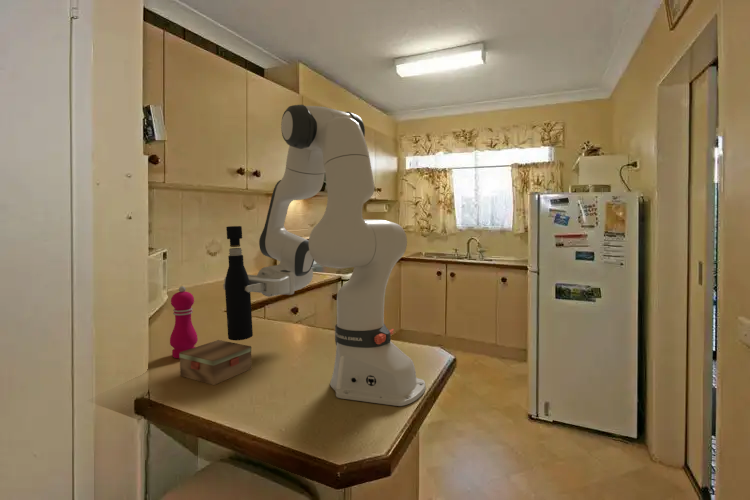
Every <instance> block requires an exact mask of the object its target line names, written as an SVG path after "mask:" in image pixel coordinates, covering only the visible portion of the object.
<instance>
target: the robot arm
mask: <svg viewBox="0 0 750 500" xmlns="http://www.w3.org/2000/svg"><path fill="white" fill-rule="evenodd" d="M280 125H281V127H280V128H281V136H282V138H283V140H284V141H285V143H286V144H287V145H288V146H289V147H288V151H287V156H286V162H285V169H284V170H285V171H284V174H283V176H282V178H281V179H279V180H278V181H277V182H276V184H275V186H274V188H273V189H272V190H273V191H272V195H271V197H270V203H269V207H268V211H267V215H266V219H265V223H264V227H263V230H262V231H261V234H260V237H259V239H258V246H259V250H260V253H262V255H263V256H265V257H268V258H271V259H274V260H277V261H279V262H280V263H279V264H277V265H276V264H275V265H270V266H269V265H268V266H264V267H262V268H260V269H259V270H258V272H257V274H247V275H248V278H249V282H250V285H245V286H244V292H250V293H259V294H260V293H261V295H263V296H264V297H270V298H271V297H274V296H275V297H276V296H280V295H281V296H282V295H286V296H287V295H288V296H290V295H294V294H295V291H298V290H301V289H303V288H305V287H306V286H308V285H309V284H310V283H311V281H312V280H313V277H314V271H313V268H312V267H313V265H314V262H315V263H316V264H317V265H319V266H321V267H325V268H326V267H327V268H332V269H348V268H349V269H350V268H353V270H352V273H351V275H350V277H349V279H348V280H347V282H346V283H344V284H343V285H342V286H341V287H340V288H339V290H338V291H337V294H336V324H335V325H334V328H335V329H334V339H335V340H334V341H335V346H336V349H335V357H334V358H335V359H334V364H333V365H334V367H333V372H332V375H331V380H330V384H329V385H330V387H331V388H332V389H333V390H334V391H335V396H336V398H337V399H342V400H343V399H345V400H351V401H358V402H365V403H372V404H373V403H374V404H379V405H387V406H395V407H397V406H398V407H404V406H407V405H409V404H411V403H414V402H415V401H417V400H418V399H420V398H421V397H422V395H423V394H424V393H425V391H426V390H427V389H426V388H427V387H426V382H425V380H424V379H422V378H418V377H417V374H416V366H415V364H414V361H413V360H412V358H411V357H410V356H408V355H407V354H406V353H405V352H403V351H402V350H401V349H400V348H399V347H398V346H397V345H395V344H394V342H392V341H391V335H393V334H394V328H391V329H388V327H387V326H386V324H385V319H384V318H385V314H384V313H385V296H386V290H387V289H386V288H387V286H388V282H389V279H390V276H391V273H392V271H393V269H394V267H395V266H396V265H397V263H398V262H399V260H401V258H402V257H403V256H404V255H405V253H406V250H407V246H408V238H407V233H406V231H405V230H404V228H403V227H402V226H401V225H400V224H398V223H397V222H393V221H389V220H387V219H386V220H385V219H381V218H380V219H377V218H376V219H375V218H374V219H370V218H369V219H366V218H364V216H363V208H364V204H366V202H367V201H369V200H370V199H371V198H372V196H373V195H374V193H375V187H376V186H375V181H374V176H373V171H372V164H371V163H372V162H371V158H370V152H369V150H368V145H367V140H366V138H365V136H366V128H365V124H364V121H363V120H362V118H361V117H360V116H359V115H357V114H355V113H353V112H351V111H343V110H339V109H334V108H331V107H330V108H329V107H326V106H319V105H318V106H317V105H304V104H294V105H293V104H292V105H290V106H288V107H287V108H286V109H285V111H284V112H283V114H282V118H281V124H280ZM324 180H325V183H326V190H327V202H326V207H325V211H324V214H323V215H322V218H321V219H320V220H319V222H318V223H317V224H316V225H314V227H313V228H312V230H311V232H310V234H309V236H308V237H309V238H308V239H307V238H305V237H303V236H300V235H297V234H295V233H293V232H291V231H288V230H287V229H286V227H285V221H286V217H287V215H288V209H289V206H290V205H291V203H292V202H293V201H301V200H307V199H310V198H312V197H314V196H316V195H317V194H318V193H320V191H321V190H322V187H323V185H324ZM225 280H226V276H225V277H224V279H223V281H224V283H223V285H222V286H223V290H224V291H225Z"/></svg>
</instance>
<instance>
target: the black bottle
mask: <svg viewBox="0 0 750 500" xmlns="http://www.w3.org/2000/svg"><path fill="white" fill-rule="evenodd" d="M225 228H226V238H227V240H229V247H230V248H229V249H228V252H229V253H228V256H227V257H228V258H227V259H228V269H227V270H226V271H227V272H226V276H225V277H226V280H225V290H224V292H225V308H226V309H225V311H226V327H227V339H228V340H231V341H243V340H244V341H245V340H248V339H250V338H253V336H254V334H253V333H254V332H253V316H252V314H253V313H252V298H251V297H252V296H251V292H244V286H245V285H250V282H249V278H248V275H249V274H248V272H247V270H246V268H245V264H244V262H245V261H244V255H243V252H242V251H243V249H242V248H241V241H240V240H241V239H243V228H242V226H241V225H233V226H232V225H231V226H230V225H229V226H226V227H225Z"/></svg>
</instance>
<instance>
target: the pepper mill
mask: <svg viewBox="0 0 750 500" xmlns="http://www.w3.org/2000/svg"><path fill="white" fill-rule="evenodd" d="M194 302H195V297H194V295H193V294H192V293H191V292H190V291H187V290H186V287H185V286H184V285H183V286H179V288H178V292H176V293H174V294H173V295H172V296H171V299H170V304H171V307H173V309H172V311H173V315H174V317H175V318H174V327H173V329H172V332H171V335H170V338H169V344H170V346H171V347H172V348H173V349H172V352H171V353H172V355H171V356H172V358H173V357H174V358H173V359H179V360H180V358H179V354H180V352H182V351H185V350H189V349H192V348H195V347H196V346H195V345H197V343H198V334H197V331H196V329H195V327H194V325H193V323H192V313H193V311H194V310H193V307H192V306H193V305H194V304H195V303H194Z"/></svg>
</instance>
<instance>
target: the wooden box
mask: <svg viewBox="0 0 750 500" xmlns="http://www.w3.org/2000/svg"><path fill="white" fill-rule="evenodd" d="M194 347H195V348H192V349H189V350H185V351H182V352H180V354H179V358H180V359H179V358H178V359H179V375H180V377H183V378H187V379H191V380H193V381H198V382H202V383H204V384H209V385H213V386H215V385H218V384H219V383H222V382H224V381H226V380H228V379H232V378H233V377H236V376H238V375H241V374H242V373H245V372H247V371H249V370H250V371H251V369H252V346H251V345H246V344H243V343H242V344H240V343H238V342H237V343H236V342H231V341H226V340H220V339H216V340H213V341H211V342H208V343H205V344H202V345H198V346H194Z"/></svg>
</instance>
